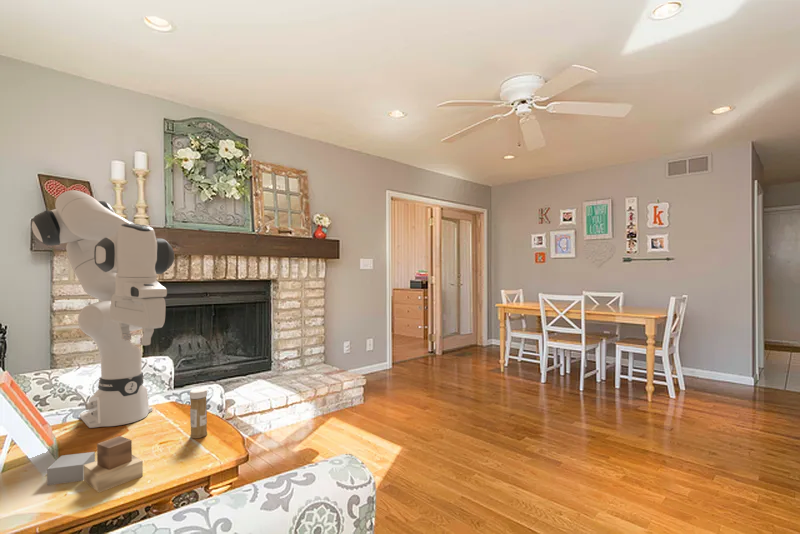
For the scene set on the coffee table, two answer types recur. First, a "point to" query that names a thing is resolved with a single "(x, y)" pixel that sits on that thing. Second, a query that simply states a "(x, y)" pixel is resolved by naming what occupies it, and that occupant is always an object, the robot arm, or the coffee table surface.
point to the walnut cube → (114, 452)
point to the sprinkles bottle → (198, 413)
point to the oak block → (112, 474)
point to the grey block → (69, 468)
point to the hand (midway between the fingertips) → (135, 342)
